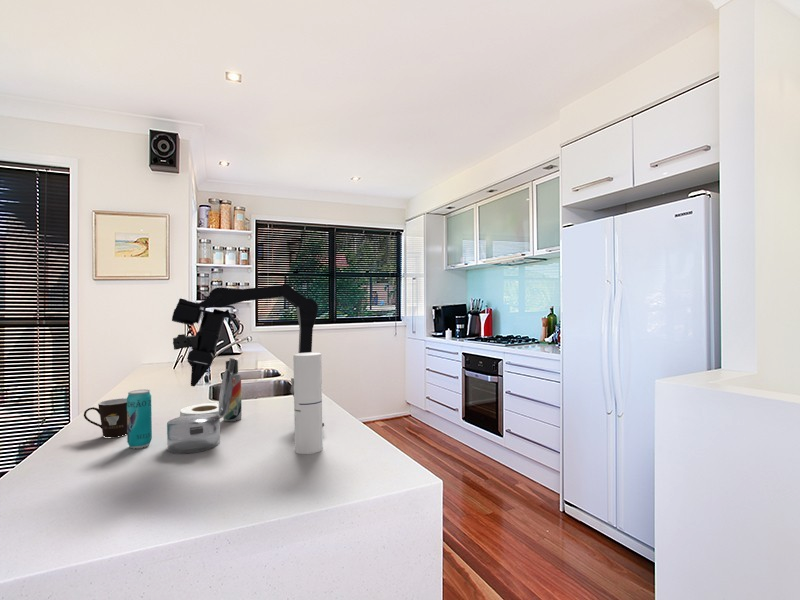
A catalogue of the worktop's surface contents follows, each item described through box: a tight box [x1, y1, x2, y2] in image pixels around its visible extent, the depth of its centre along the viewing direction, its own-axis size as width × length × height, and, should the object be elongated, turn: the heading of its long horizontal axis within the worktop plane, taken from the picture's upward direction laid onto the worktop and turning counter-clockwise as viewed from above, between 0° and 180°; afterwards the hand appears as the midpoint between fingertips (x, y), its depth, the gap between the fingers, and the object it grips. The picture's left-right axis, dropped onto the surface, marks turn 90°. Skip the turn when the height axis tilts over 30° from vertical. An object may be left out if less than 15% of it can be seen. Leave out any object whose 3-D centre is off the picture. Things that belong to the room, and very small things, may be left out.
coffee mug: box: [83, 397, 127, 438], centre depth 130 cm, size 12×9×10 cm
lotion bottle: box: [222, 359, 243, 422], centre depth 145 cm, size 6×6×20 cm
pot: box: [166, 414, 221, 455], centre depth 119 cm, size 13×18×7 cm
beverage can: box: [126, 389, 153, 450], centre depth 119 cm, size 6×6×15 cm
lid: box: [218, 357, 236, 416], centre depth 123 cm, size 16×13×2 cm
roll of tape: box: [179, 402, 223, 418], centre depth 152 cm, size 16×15×3 cm
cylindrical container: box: [292, 351, 324, 455], centre depth 114 cm, size 7×7×25 cm
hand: (194, 383), depth 124 cm, fingers open, 9 cm apart
